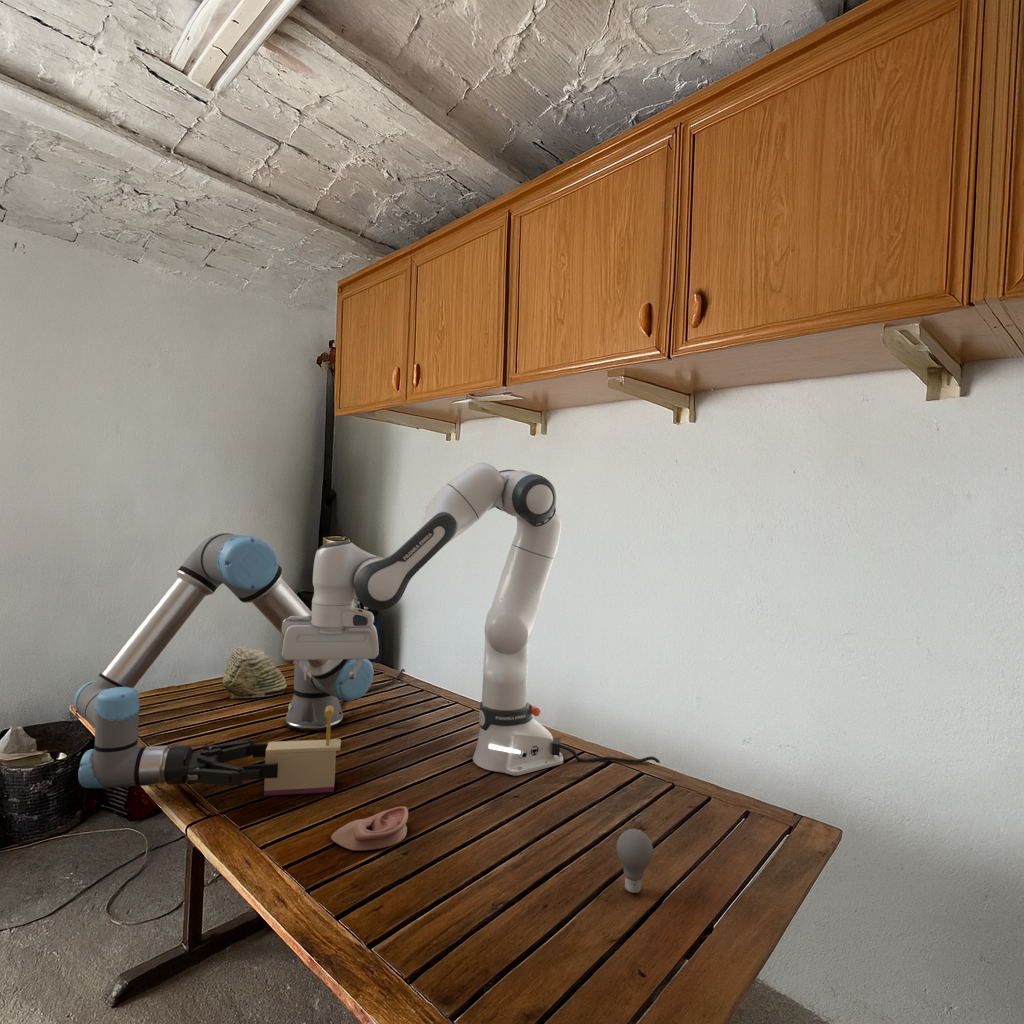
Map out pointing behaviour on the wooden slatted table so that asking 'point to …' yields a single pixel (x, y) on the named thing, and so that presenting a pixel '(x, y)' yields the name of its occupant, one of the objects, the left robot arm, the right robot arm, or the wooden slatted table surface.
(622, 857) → the light bulb
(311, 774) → the purple-based tan box
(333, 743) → the lid
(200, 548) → the left robot arm
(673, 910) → the wooden slatted table surface
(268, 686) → the fossil
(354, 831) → the anatomical model
